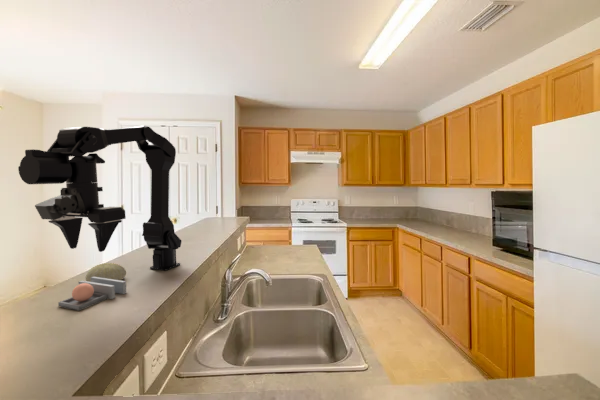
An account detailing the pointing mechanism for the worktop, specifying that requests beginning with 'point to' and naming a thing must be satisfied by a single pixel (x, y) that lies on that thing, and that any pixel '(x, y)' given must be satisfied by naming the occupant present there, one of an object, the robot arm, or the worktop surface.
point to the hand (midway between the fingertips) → (87, 249)
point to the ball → (82, 292)
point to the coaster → (78, 305)
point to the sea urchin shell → (107, 271)
